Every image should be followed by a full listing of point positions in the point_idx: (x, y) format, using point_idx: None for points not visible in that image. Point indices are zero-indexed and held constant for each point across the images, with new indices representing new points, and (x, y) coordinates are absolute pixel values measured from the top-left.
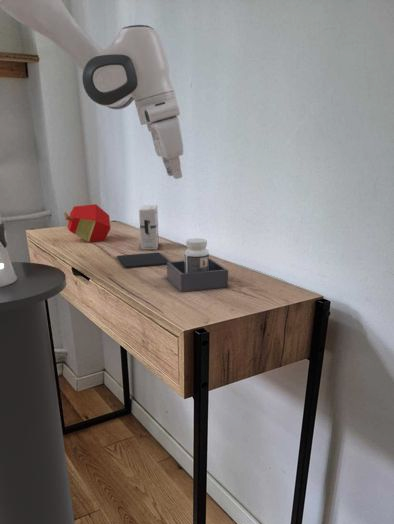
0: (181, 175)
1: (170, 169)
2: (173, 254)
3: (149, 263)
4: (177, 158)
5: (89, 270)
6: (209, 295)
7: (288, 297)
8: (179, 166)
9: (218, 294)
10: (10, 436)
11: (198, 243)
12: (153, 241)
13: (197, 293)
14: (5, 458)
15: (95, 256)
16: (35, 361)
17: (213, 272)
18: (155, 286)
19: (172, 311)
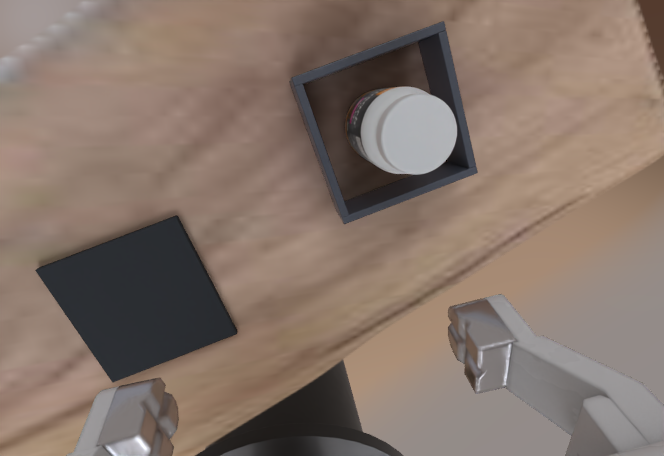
0: (506, 301)
1: (155, 442)
2: (27, 217)
3: (197, 278)
4: (660, 421)
5: (267, 407)
6: (487, 90)
7: None
8: (570, 355)
9: (482, 64)
10: None
11: (456, 127)
12: None
13: (468, 122)
14: None
15: None
16: (321, 375)
17: (454, 74)
18: (405, 232)
19: (579, 176)
